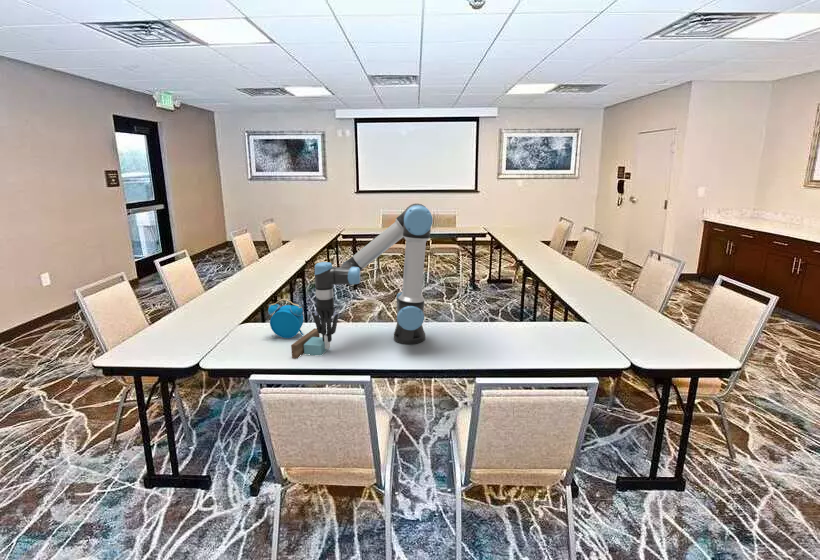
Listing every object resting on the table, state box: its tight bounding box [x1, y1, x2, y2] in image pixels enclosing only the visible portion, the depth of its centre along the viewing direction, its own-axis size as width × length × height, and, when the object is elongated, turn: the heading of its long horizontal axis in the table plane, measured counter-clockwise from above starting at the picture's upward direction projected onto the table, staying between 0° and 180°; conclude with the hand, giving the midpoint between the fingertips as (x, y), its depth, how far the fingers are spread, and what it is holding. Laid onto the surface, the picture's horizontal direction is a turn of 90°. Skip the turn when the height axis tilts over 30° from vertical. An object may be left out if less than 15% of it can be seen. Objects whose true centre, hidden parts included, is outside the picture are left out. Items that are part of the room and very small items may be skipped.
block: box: [303, 337, 328, 356], centre depth 212 cm, size 8×10×5 cm
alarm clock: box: [267, 298, 304, 339], centre depth 228 cm, size 17×10×20 cm, turn 84°
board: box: [290, 328, 321, 359], centre depth 214 cm, size 2×22×6 cm, turn 165°
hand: (327, 348), depth 212 cm, fingers closed
